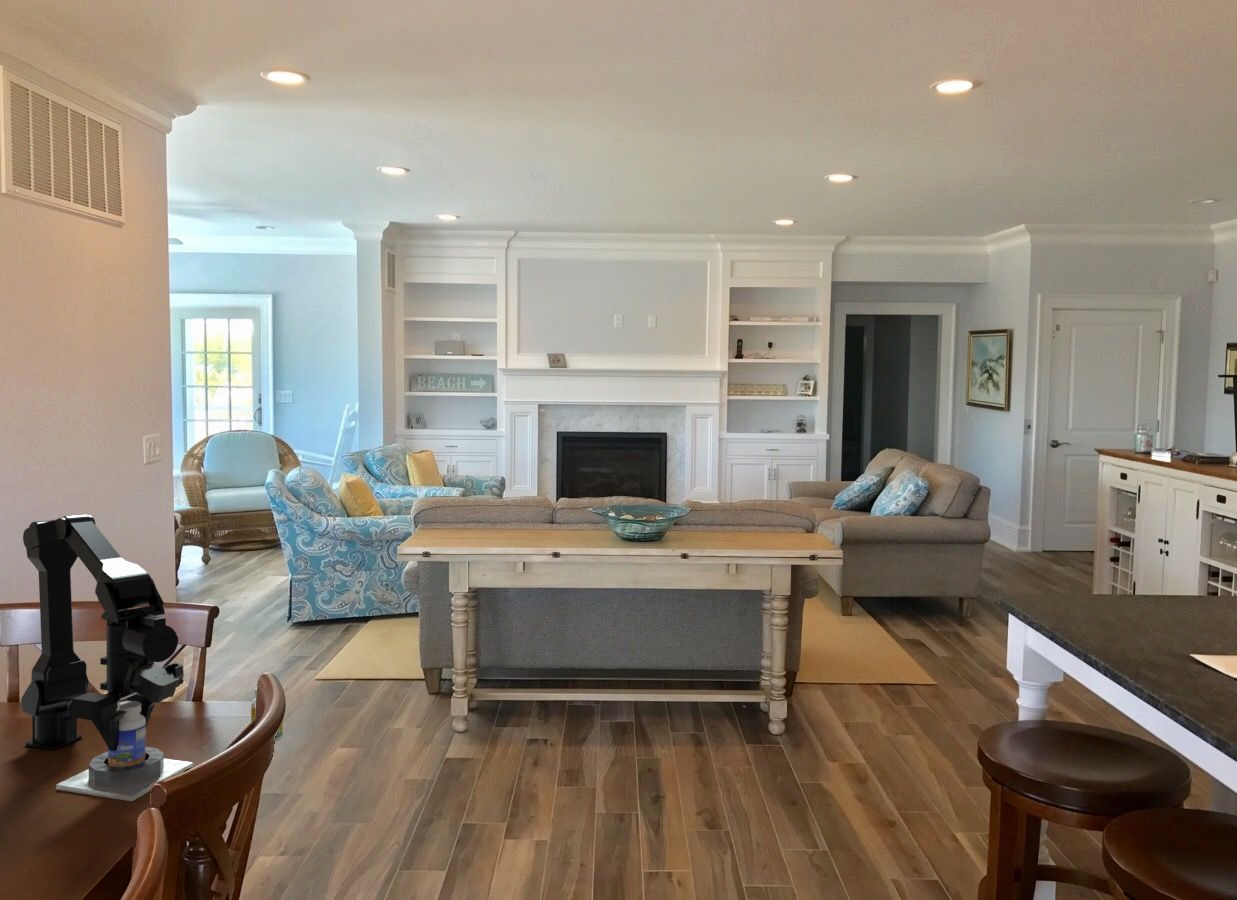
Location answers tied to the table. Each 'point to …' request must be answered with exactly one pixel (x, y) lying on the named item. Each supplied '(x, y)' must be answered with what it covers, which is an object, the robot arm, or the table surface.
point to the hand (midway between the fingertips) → (126, 744)
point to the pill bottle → (129, 737)
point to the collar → (123, 776)
